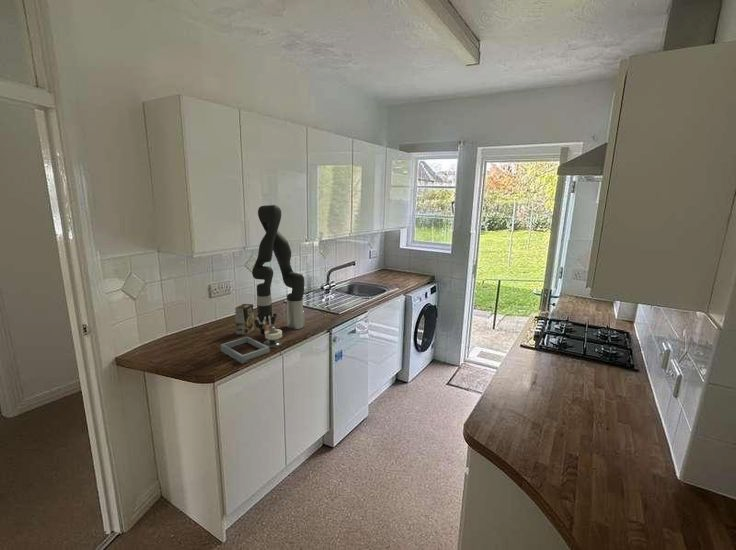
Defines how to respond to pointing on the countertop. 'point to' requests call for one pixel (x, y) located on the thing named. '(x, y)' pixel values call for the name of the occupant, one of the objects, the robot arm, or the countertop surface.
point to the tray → (244, 358)
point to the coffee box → (244, 319)
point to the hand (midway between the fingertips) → (265, 333)
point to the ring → (272, 336)
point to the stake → (272, 342)
